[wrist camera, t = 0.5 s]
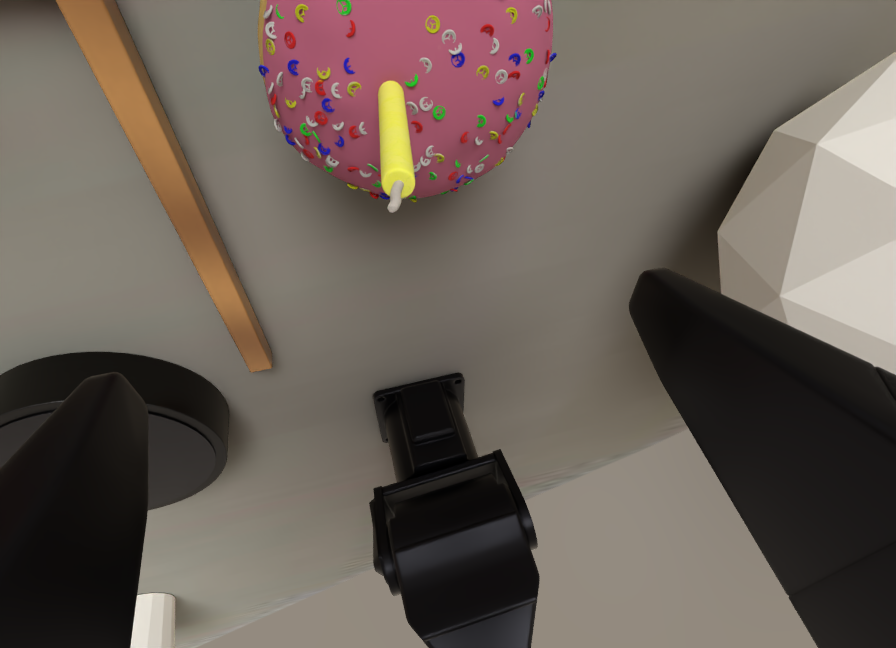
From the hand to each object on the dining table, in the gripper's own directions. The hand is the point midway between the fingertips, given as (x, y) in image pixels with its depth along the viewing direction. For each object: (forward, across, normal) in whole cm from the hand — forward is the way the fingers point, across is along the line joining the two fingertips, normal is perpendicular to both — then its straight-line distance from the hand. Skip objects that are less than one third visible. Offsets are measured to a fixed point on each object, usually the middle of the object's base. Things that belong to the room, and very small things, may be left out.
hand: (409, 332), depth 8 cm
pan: (+14, +19, +18) cm, 30 cm away
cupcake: (+14, -2, -2) cm, 14 cm away
